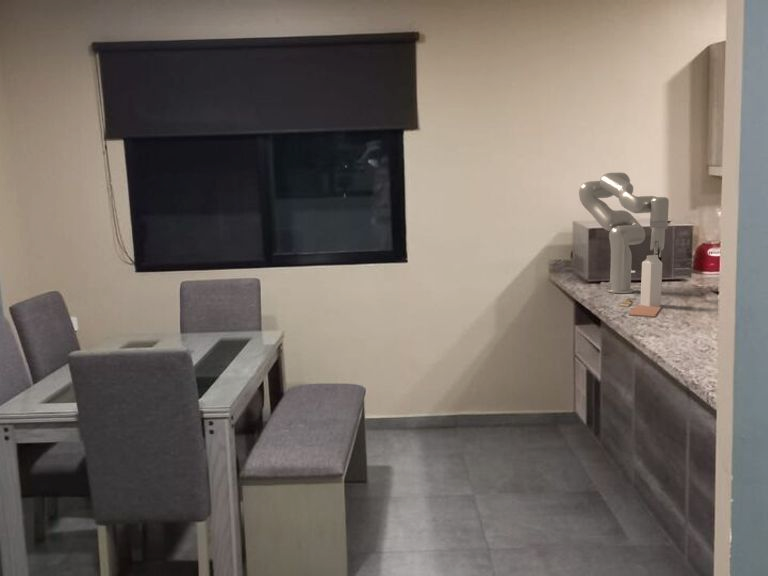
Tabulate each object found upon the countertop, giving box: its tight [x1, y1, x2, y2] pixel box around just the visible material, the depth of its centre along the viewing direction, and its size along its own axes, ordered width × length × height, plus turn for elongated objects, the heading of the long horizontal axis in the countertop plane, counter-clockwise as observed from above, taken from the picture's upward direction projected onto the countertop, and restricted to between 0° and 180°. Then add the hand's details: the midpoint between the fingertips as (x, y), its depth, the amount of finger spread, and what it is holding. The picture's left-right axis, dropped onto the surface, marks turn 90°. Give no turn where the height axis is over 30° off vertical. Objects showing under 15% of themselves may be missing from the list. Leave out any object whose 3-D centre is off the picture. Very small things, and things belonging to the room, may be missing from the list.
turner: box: [618, 298, 632, 308], centre depth 332 cm, size 15×4×1 cm, turn 153°
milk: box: [639, 254, 663, 307], centre depth 325 cm, size 6×6×22 cm
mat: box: [628, 304, 662, 318], centre depth 314 cm, size 10×20×1 cm, turn 153°
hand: (657, 265), depth 339 cm, fingers closed
